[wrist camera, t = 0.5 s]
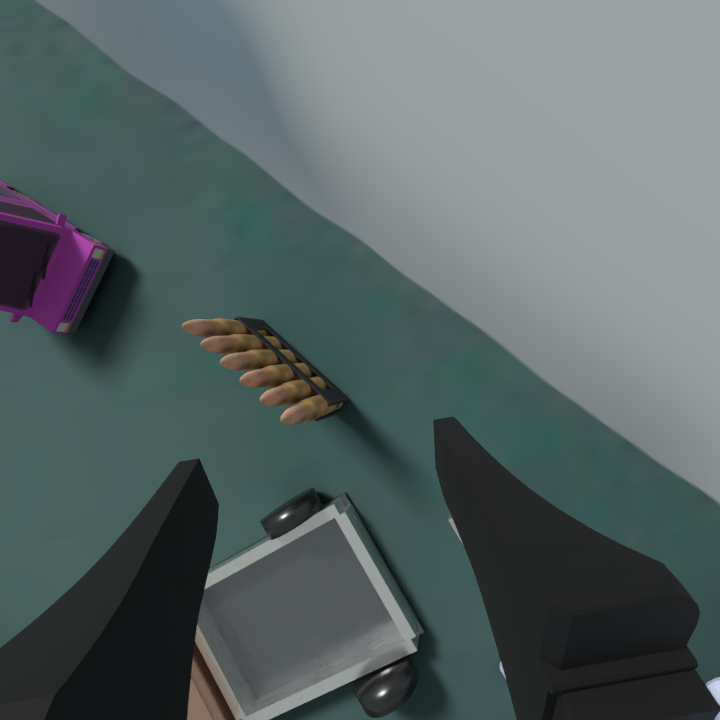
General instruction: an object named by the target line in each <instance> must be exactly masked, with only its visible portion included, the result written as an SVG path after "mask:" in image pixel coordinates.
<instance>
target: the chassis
mask: <svg viewBox="0 0 720 720" xmlns="http://www.w3.org/2000/svg"><path fill="white" fill-rule="evenodd" d="M260 522H261V524H262V526H263V528H264V530H265V531H266V533H267V535H268V536H267V537H265V538H263V539H261V540H260V541H258V542H256V543H254V544H252V545H251V546H249V547H247V548H245V549H244V550H242V551H240V552H238V553H236V554H235V555H233V556H231V557H229V558H228V559H226V560H224V561H222V562H220V563H219V564H217V565H215V566H213V567H211V568H210V569H209V571H208V576H207V580H206V585H205V589H204V594H203V598H202V603H201V607H200V612H199V617H198V623H197V629H196V637H195V645H194V653H193V662H192V671H191V681H190V691H189V702H188V715H187V720H234V719H236V720H240V719H241V720H269V719H271V718H274V717H276V716H278V715H280V714H282V713H284V712H286V711H289V710H291V709H293V708H295V707H297V706H299V705H302V704H304V703H306V702H308V701H310V700H312V699H314V698H317V697H319V696H321V695H323V694H325V693H327V692H330V691H332V690H334V689H336V688H338V687H340V686H342V685H345V684H347V683H349V682H351V681H353V680H355V679H356V681H355V685H354V692H355V695H356V696H357V698H358V700H359V702H360V704H361V706H362V707H363V709H364V711H365V713H366V714H367V715H368V716H370V717H373V718H377V717H382V716H385V715H387V714H389V713H391V712H393V711H394V710H396V709H397V708H398V707H400V706H401V705H402V704H403V703H404V702H405V701H406V700H407V699H408V698H409V696H410V695H411V694H412V692H413V691H414V689H415V687H416V685H417V682H418V671H417V669H416V667H415V665H414V664H413V662H412V660H411V658H410V656H409V654H411V653H413V652H416V651H417V650H418V642H419V635H420V634H422V633H425V629H424V627H423V625H422V624H421V622H420V620H419V618H418V617H417V615H416V613H415V612H414V610H413V608H412V606H411V605H410V603H409V601H408V599H407V598H406V596H405V594H404V592H403V591H402V589H401V587H400V585H399V584H398V582H397V580H396V579H395V577H394V575H393V573H392V572H391V570H390V568H389V566H388V565H387V563H386V561H385V559H384V558H383V556H382V554H381V552H380V551H379V549H378V547H377V546H376V544H375V542H374V540H373V539H372V537H371V535H370V533H369V532H368V530H367V528H366V526H365V525H364V523H363V521H362V520H361V518H360V516H359V514H358V513H357V511H356V509H355V507H354V506H353V504H352V502H351V500H350V499H349V497H348V495H347V493H346V492H345V493H343V494H342V495H340V496H338V497H336V498H334V499H333V500H331V501H329V502H327V503H326V504H324V505H323V504H322V502H321V500H320V498H319V497H318V495H317V493H316V491H315V489H314V488H311V489H309V490H307V491H305V492H303V493H301V494H299V495H297V496H296V497H294V498H292V499H291V500H289V501H287V502H286V503H284V504H283V505H281V506H280V507H278V508H277V509H275V510H274V511H272V512H271V513H270V514H268V515H267V516H266V517H264V518H263V519H262V520H261V521H260Z"/></svg>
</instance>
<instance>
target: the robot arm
mask: <svg viewBox="0 0 720 720" xmlns="http://www.w3.org/2000/svg"><path fill="white" fill-rule="evenodd" d="M434 442H435V463H436V471H437V475H438V478H439V482H440V485H441V489H442V492H443V496H444V499H445V501H446V504H447V506H448V509H449V511H450V514H451V516H452V519H453V521H454V524H455V526H456V528H457V531H458V533H459V536H460V538H461V540H462V543H463V545H464V548H465V550H466V553H467V555H468V557H469V560H470V562H471V565H472V568H473V570H474V573H475V576H476V579H477V582H478V585H479V588H480V592H481V595H482V598H483V601H484V605H485V608H486V611H487V615H488V618H489V621H490V625H491V628H492V632H493V635H494V638H495V642H496V645H497V649H498V652H499V656H500V659H501V662H500V670H501V672H502V674H503V675H504V677H505V679H506V681H507V684H508V688H509V692H510V695H511V699H512V703H513V707H514V710H515V714H516V718H517V720H720V677H718V678H715V679H713V680H711V681H709V682H707V683H706V684H704V682H703V681H702V679H701V678H700V676H699V675H698V673H697V672H696V670H695V669H694V668H697V666H698V664H697V660H696V659H695V657H694V656H693V655H692V653H691V652H690V650H689V649H688V647H687V646H686V645H687V643H688V641H689V639H690V637H691V635H692V633H693V631H694V629H695V627H696V625H697V622H698V618H699V614H700V612H699V608H698V605H697V603H696V602H695V601H694V600H693V598H692V597H691V596H690V594H689V593H688V592H687V590H686V589H685V588H684V586H683V585H682V584H681V583H680V582H679V580H678V579H677V578H676V577H675V576H674V575H673V574H672V573H671V572H670V571H669V570H668V568H667V567H666V566H665V565H664V564H663V563H661V562H659V561H656V560H654V559H652V558H650V557H648V556H645V555H643V554H641V553H639V552H637V551H634V550H632V549H630V548H628V547H625V546H623V545H621V544H619V543H617V542H615V541H613V540H612V539H610V538H608V537H606V536H604V535H602V534H600V533H598V532H596V531H594V530H593V529H591V528H589V527H587V526H586V525H584V524H582V523H581V522H579V521H577V520H576V519H574V518H572V517H571V516H569V515H567V514H566V513H564V512H562V511H561V510H559V509H558V508H556V507H555V506H553V505H552V504H550V503H549V502H548V501H546V500H545V499H543V498H542V497H541V496H539V495H538V494H536V493H535V492H534V491H532V490H531V489H530V488H528V487H527V486H526V485H525V484H523V483H522V482H521V481H520V480H518V479H517V478H516V477H515V476H514V475H512V474H511V473H510V472H509V471H508V470H507V469H506V468H504V467H503V466H502V465H501V464H500V463H499V462H498V461H497V460H496V459H495V458H493V457H492V456H491V455H490V454H489V453H488V452H487V451H486V450H485V449H484V448H483V447H482V446H481V445H480V444H479V443H478V442H477V441H476V440H475V439H474V438H473V437H472V436H471V435H470V434H469V433H468V432H467V430H466V429H465V428H464V427H463V426H462V425H461V424H460V423H459V421H458V420H457V419H456V418H454V417H449V418H443V419H437V420H434ZM218 509H219V504H218V501H217V499H216V497H215V494H214V492H213V490H212V487H211V485H210V483H209V480H208V478H207V476H206V473H205V471H204V469H203V466H202V464H201V462H200V459H194V460H188V461H182V462H179V463H178V464H177V465H176V467H175V468H174V469H173V471H172V472H171V473H170V474H169V476H168V477H167V478H166V480H165V481H164V482H163V484H162V485H161V486H160V488H159V489H158V490H157V492H156V493H155V494H154V495H153V497H152V498H151V499H150V501H149V502H148V503H147V505H146V506H145V507H144V508H143V510H142V511H141V512H140V513H139V515H138V516H137V517H136V518H135V520H134V521H133V522H132V523H131V524H130V526H129V527H128V528H127V529H126V530H125V531H124V533H123V534H122V535H121V536H120V537H119V538H118V540H117V541H116V542H115V543H114V544H113V545H112V547H111V548H110V549H109V550H108V551H107V552H106V553H105V554H104V555H103V556H102V558H101V559H100V560H99V561H98V562H97V563H96V564H95V565H94V566H93V567H92V568H91V569H90V570H89V571H88V572H87V573H86V574H85V575H84V576H83V577H82V578H81V579H80V580H79V581H78V582H77V583H76V584H75V585H74V586H73V587H71V588H70V589H69V590H68V591H67V592H66V593H65V594H64V595H63V596H62V597H60V598H59V599H58V600H57V601H56V602H55V603H54V604H53V605H52V606H50V607H49V608H48V609H47V610H46V611H45V612H44V613H43V614H42V615H40V616H39V617H38V618H37V619H36V620H34V621H33V622H32V623H31V624H30V625H28V626H27V627H26V628H25V629H24V630H22V631H21V632H20V633H19V634H17V635H16V636H15V637H14V638H12V639H11V640H10V641H9V642H7V643H6V644H5V645H3V646H2V647H1V648H0V720H187V715H188V702H189V691H190V681H191V671H192V662H193V653H194V645H195V637H196V629H197V623H198V617H199V612H200V607H201V603H202V598H203V594H204V589H205V585H206V580H207V576H208V571H209V567H210V563H211V558H212V553H213V549H214V544H215V539H216V532H217V522H218Z"/></svg>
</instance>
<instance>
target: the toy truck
mask: <svg viewBox="0 0 720 720" xmlns="http://www.w3.org/2000/svg"><path fill="white" fill-rule="evenodd" d="M79 231H80V229H79V228H77V227H76V226H74V225H73V224H71V223H69V222H68V221H66V216H65V215H62V214H58V215H57V214H55V213H53V212H52V211H50V210H48V209H47V208H45V207H44V206H42V205H40V204H39V203H38V202H37V201H36V200H34V199H32V198H30V197H28V196H26V195H24V194H22V193H20V192H17V191H15V190H13V187H12V186H10V185H8V184H7V183H5V182H3V181H2V180H0V310H2V311H7V312H11V313H14V314H13V315H12V317H11V318H10V319H9V320H10V321H11V322H18V321H19V320H20V319H21V317H22V316H27V317H30V318H32V319H33V320H35V321H36V322H38V323H39V324H41V325H42V326H44V327H45V328H46V329H48V330H49V331H51V332H52V333H71V334H75V332H76V330H77V328H78V326H79V324H80V322H81V320H82V318H83V316H84V314H85V312H86V310H87V307H88V305H89V303H90V301H91V299H92V297H93V295H94V293H95V291H96V289H97V287H98V285H99V283H100V281H101V278H102V276H103V274H104V272H105V270H106V268H107V266H108V264H109V262H110V260H111V258H112V256H113V254H114V250H113V249H111V248H110V247H108V246H106V245H105V244H104V243H103V242H102V241H100V240H98V239H96V238H94V237H92V236H90V235H88V234H85V233H83V232H79Z"/></svg>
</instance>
